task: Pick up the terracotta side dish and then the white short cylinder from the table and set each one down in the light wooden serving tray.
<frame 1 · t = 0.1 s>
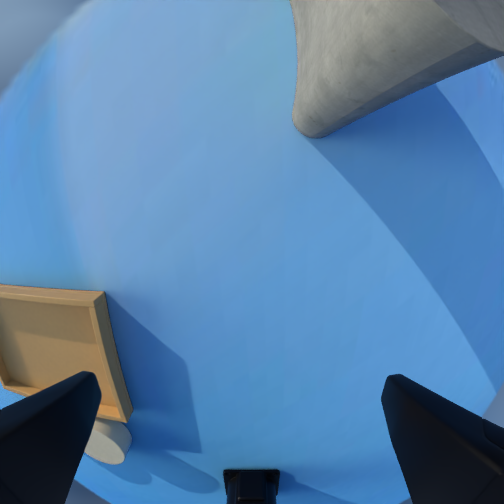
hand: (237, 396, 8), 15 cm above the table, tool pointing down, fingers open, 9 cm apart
serving tray: (45, 346, 25), on the table
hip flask: (313, 40, 18), on the table
white short cylinder: (106, 429, 27), on the table
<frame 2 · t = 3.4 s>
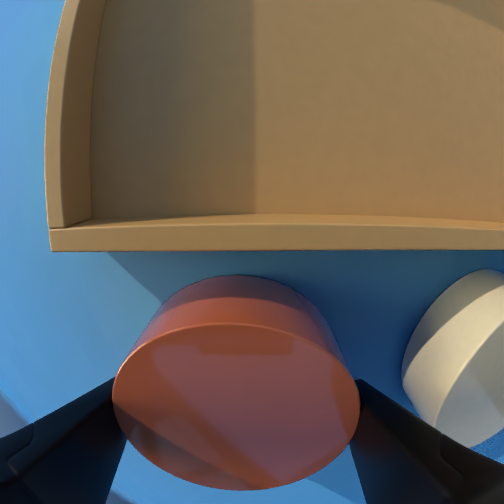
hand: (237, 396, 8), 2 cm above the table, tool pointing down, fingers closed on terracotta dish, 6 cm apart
terracotta dish: (239, 366, 10), on the table, touching gripper
serving tray: (381, 27, 7), on the table
white short cylinder: (467, 344, 9), on the table
when the fingers open (2 cm above the table, at t = 8.5 s): terracotta dish stays where it is, resting on serving tray.
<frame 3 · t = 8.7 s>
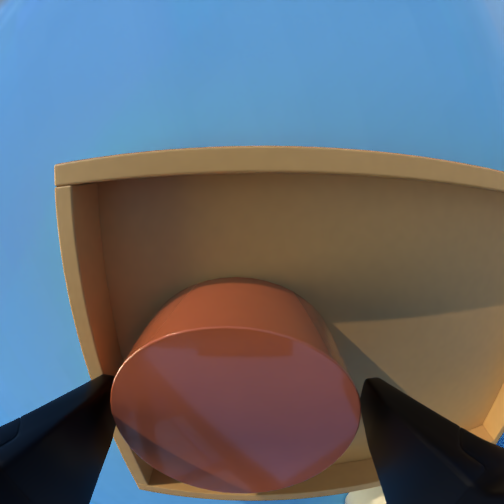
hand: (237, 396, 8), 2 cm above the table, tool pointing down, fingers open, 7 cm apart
terracotta dish: (238, 369, 9), point 1 cm above the table, touching serving tray
serving tray: (365, 352, 10), on the table
white short cylinder: (394, 485, 13), on the table
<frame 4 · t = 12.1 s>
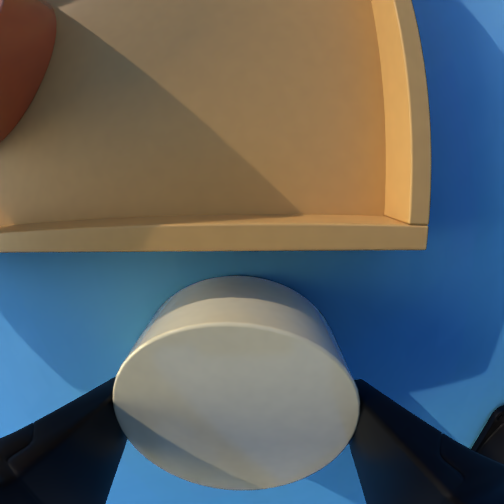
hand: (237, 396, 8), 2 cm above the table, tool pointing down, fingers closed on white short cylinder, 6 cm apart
serving tray: (95, 36, 7), on the table
white short cylinder: (239, 366, 10), on the table, touching gripper
when the fingers open (2 cm above the table, at t = 17.1 s): white short cylinder stays where it is, resting on serving tray.
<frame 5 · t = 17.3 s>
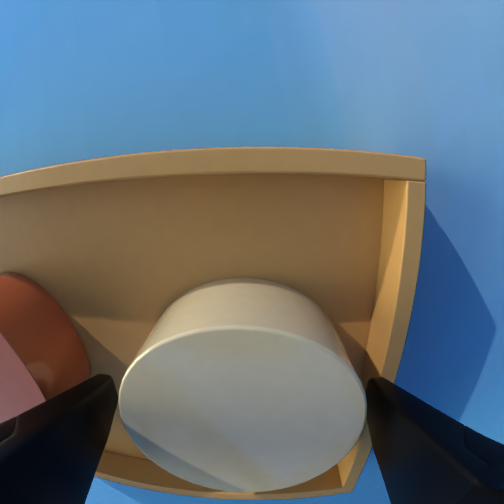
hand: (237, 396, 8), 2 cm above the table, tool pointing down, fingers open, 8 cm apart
terracotta dish: (29, 344, 10), point 1 cm above the table, touching serving tray
serving tray: (123, 350, 10), on the table
white short cylinder: (244, 368, 9), point 1 cm above the table, touching serving tray
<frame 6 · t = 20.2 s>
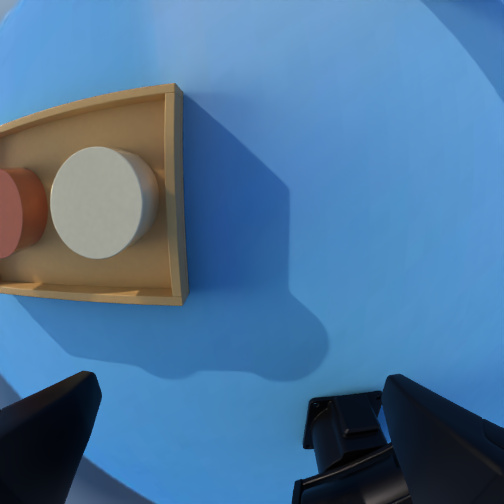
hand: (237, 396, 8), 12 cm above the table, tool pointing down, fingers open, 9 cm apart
terracotta dish: (19, 208, 18), point 1 cm above the table, touching serving tray
serving tray: (65, 201, 19), on the table
white short cylinder: (114, 198, 18), point 1 cm above the table, touching serving tray
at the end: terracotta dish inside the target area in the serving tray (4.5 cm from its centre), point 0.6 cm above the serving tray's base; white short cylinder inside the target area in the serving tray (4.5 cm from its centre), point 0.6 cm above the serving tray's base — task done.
